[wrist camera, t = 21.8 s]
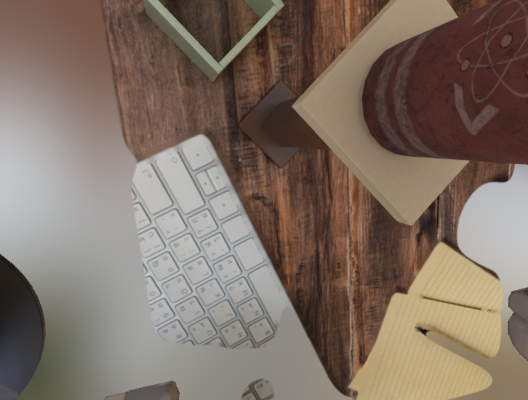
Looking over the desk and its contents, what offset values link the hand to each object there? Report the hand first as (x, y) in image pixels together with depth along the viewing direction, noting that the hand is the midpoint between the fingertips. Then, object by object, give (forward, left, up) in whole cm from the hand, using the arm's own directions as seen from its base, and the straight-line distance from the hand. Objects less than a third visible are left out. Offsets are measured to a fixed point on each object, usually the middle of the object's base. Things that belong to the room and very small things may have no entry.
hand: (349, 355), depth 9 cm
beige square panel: (+12, -2, -13) cm, 18 cm away
